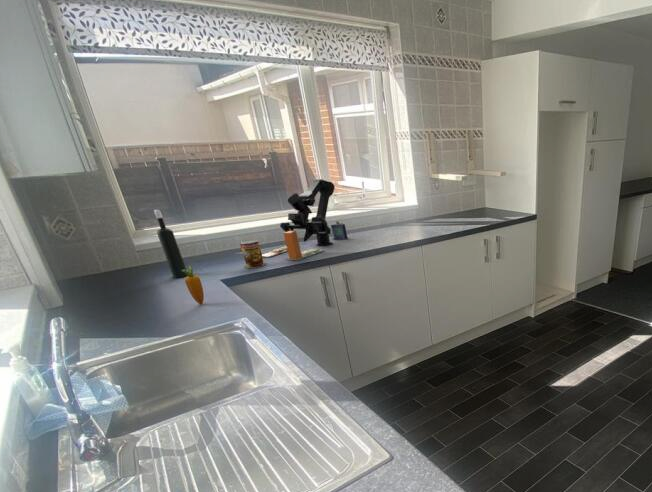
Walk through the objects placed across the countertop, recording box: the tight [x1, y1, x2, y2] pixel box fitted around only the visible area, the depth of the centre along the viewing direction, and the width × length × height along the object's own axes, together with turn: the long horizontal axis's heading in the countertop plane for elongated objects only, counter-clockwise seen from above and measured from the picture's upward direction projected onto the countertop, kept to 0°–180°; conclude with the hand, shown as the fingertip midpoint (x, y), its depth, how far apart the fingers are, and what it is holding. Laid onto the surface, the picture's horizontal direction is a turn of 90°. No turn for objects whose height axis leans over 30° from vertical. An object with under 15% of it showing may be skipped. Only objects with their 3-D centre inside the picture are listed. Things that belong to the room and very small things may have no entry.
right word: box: [286, 248, 324, 261], centre depth 225 cm, size 19×7×2 cm, turn 158°
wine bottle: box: [153, 209, 188, 279], centre depth 190 cm, size 6×6×30 cm
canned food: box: [239, 239, 265, 269], centre depth 207 cm, size 8×8×12 cm
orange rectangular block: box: [282, 230, 302, 258], centre depth 217 cm, size 5×4×13 cm
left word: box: [261, 245, 288, 258], centre depth 232 cm, size 19×7×2 cm, turn 158°
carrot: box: [182, 265, 205, 306], centre depth 158 cm, size 5×5×15 cm
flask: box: [329, 220, 348, 240], centre depth 257 cm, size 9×3×11 cm, turn 84°
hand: (296, 241), depth 219 cm, fingers open, 9 cm apart
